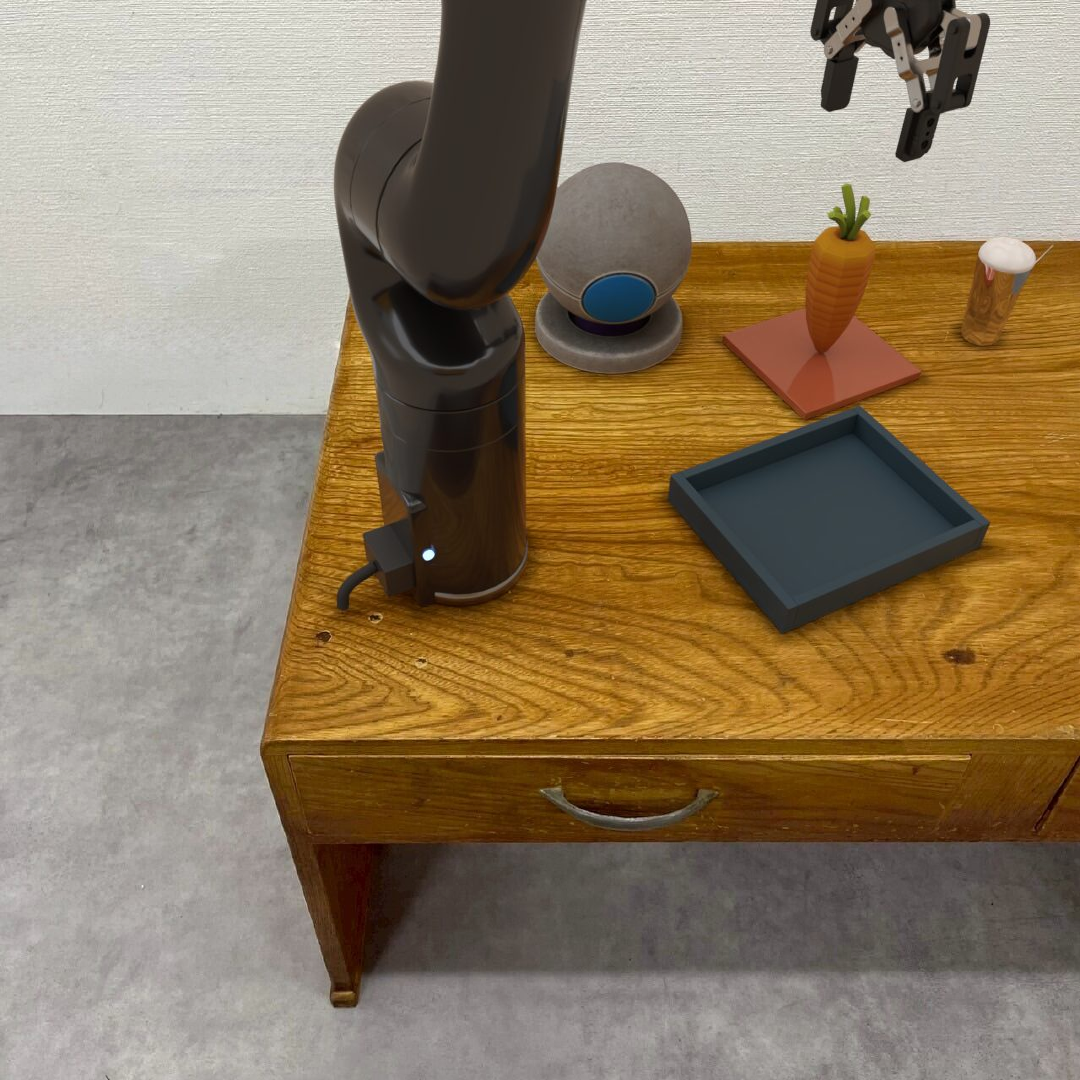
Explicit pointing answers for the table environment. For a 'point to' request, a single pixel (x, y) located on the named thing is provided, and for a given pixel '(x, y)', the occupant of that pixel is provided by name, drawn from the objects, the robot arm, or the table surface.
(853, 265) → the carrot
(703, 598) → the table surface
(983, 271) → the milkshake
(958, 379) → the table surface
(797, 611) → the tray
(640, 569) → the table surface
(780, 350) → the tile
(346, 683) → the table surface
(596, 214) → the webcam
